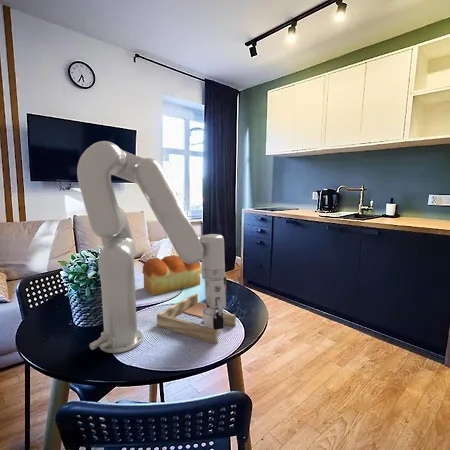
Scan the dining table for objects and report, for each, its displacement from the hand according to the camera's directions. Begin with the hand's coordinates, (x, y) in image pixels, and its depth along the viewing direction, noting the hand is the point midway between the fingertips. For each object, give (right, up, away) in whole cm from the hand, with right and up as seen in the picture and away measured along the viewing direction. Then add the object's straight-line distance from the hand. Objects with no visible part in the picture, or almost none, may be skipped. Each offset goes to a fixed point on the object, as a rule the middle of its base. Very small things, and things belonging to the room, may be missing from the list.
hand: (215, 321), depth 94 cm
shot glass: (-1, -3, 0) cm, 3 cm away
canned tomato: (0, 0, +27) cm, 27 cm away
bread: (-22, +2, +43) cm, 49 cm away
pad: (-6, -1, +16) cm, 17 cm away
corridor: (-4, -2, +8) cm, 9 cm away
